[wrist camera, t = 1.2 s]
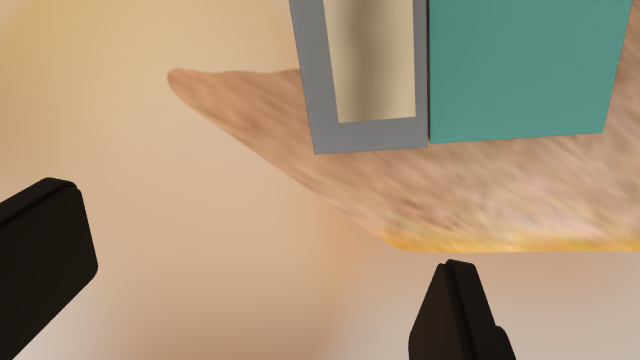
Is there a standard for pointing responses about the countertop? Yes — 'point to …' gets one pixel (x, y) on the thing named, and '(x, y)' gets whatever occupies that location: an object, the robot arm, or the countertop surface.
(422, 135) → the board
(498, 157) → the countertop surface
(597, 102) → the mat
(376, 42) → the tile
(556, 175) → the countertop surface
